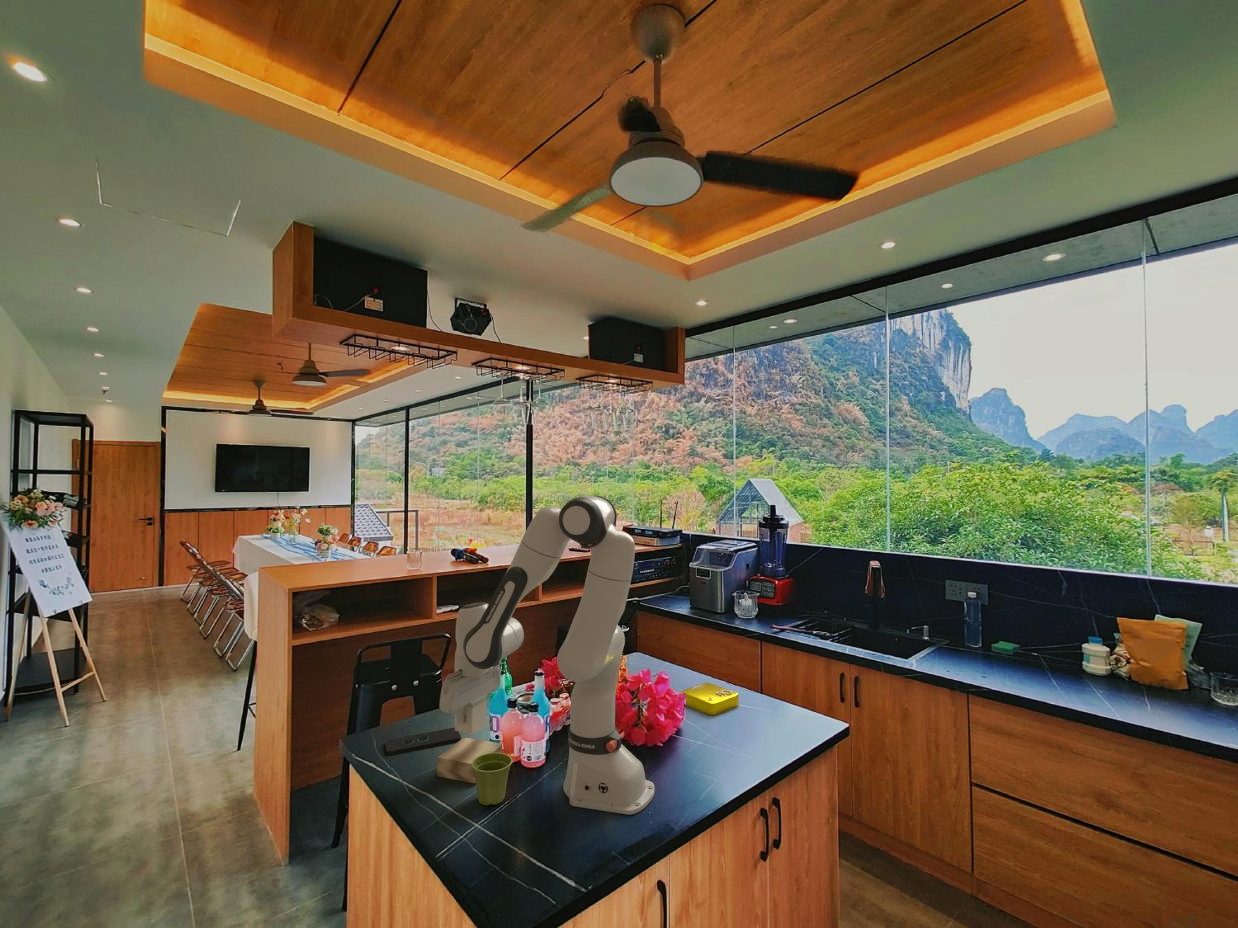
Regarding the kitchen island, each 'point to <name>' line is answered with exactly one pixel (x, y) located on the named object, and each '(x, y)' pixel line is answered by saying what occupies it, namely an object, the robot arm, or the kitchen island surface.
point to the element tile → (711, 698)
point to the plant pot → (491, 776)
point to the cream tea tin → (473, 716)
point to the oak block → (464, 758)
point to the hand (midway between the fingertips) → (470, 717)
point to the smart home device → (421, 741)
